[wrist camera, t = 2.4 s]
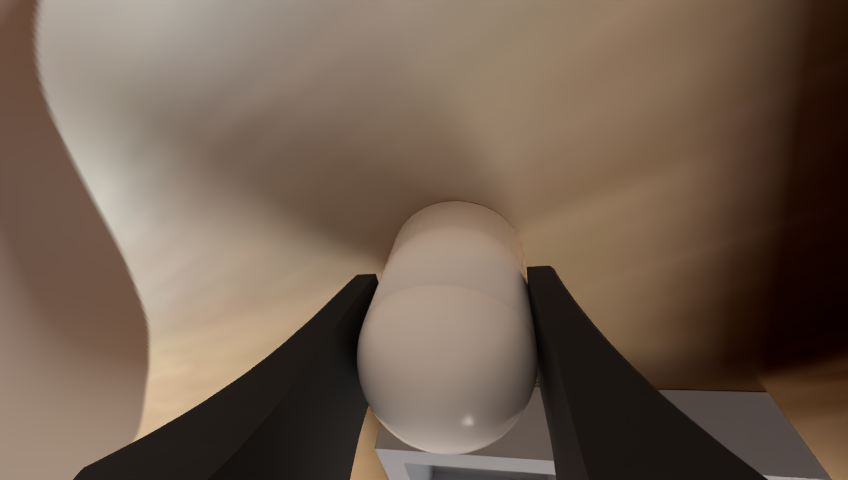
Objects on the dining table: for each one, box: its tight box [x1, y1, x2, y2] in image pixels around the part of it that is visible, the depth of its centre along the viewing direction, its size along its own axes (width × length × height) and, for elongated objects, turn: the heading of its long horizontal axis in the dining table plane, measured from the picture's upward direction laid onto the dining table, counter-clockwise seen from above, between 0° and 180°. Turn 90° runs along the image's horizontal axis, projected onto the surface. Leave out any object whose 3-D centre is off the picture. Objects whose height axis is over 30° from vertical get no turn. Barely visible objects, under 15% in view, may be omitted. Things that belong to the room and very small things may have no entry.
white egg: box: [357, 201, 538, 455], centre depth 10 cm, size 4×4×6 cm
